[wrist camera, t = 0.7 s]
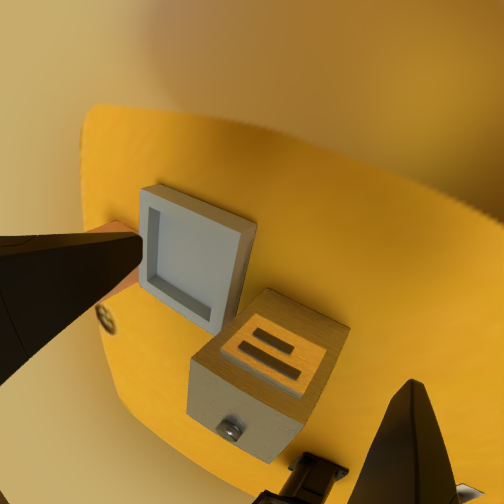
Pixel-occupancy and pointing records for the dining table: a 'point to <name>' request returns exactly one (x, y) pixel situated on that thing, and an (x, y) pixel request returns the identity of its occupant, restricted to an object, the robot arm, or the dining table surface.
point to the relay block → (134, 275)
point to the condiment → (467, 493)
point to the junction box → (264, 374)
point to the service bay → (193, 255)
